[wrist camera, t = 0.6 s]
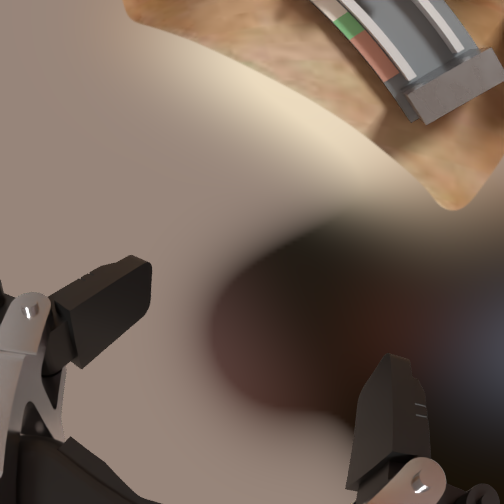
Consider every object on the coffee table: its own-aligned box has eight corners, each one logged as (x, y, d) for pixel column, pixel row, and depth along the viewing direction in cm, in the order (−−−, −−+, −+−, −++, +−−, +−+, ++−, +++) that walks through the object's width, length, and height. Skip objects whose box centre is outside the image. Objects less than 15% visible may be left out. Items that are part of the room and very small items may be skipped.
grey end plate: (399, 89, 24) (407, 95, 19) (470, 49, 18) (491, 47, 13) (415, 114, 25) (426, 125, 20) (485, 74, 18) (508, 78, 14)
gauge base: (265, -37, 20) (254, -46, 18) (342, -87, 13) (338, -100, 10) (409, 120, 26) (413, 126, 24) (488, 74, 19) (501, 76, 16)
